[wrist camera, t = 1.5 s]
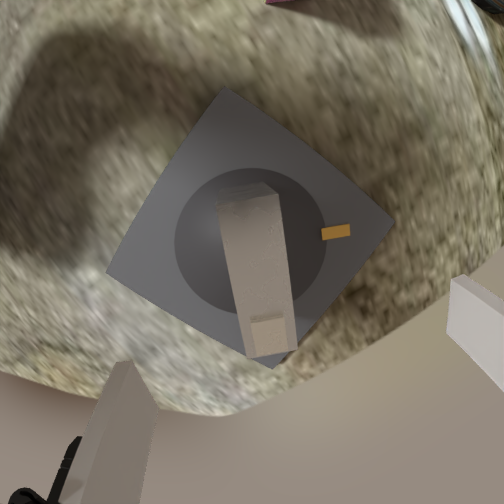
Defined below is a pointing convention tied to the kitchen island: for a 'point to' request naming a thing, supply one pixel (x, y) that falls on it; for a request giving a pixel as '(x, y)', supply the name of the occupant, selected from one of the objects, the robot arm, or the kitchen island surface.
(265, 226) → the dial handle
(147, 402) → the robot arm
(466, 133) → the kitchen island surface
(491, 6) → the beer stein
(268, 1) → the box
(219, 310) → the dial plate
